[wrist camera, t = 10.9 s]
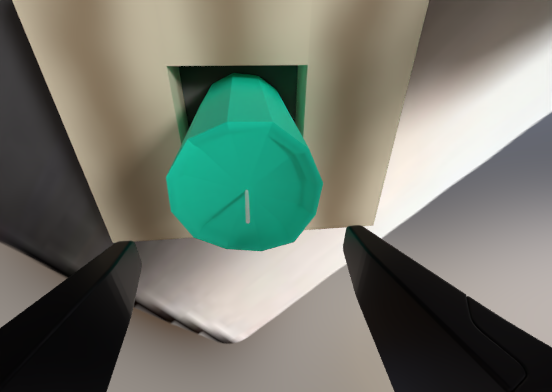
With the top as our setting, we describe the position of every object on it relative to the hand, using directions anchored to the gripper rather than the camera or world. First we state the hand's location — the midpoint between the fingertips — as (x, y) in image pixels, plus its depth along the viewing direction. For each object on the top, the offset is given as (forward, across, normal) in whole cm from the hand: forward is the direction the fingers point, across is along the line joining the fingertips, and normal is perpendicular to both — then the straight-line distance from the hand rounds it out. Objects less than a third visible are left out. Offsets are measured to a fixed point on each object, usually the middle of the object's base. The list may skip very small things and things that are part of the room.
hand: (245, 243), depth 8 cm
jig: (+13, 0, 0) cm, 13 cm away
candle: (+13, 0, 0) cm, 13 cm away
